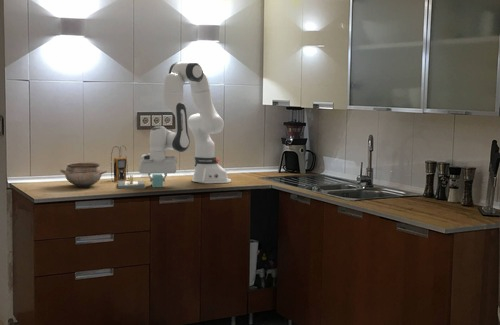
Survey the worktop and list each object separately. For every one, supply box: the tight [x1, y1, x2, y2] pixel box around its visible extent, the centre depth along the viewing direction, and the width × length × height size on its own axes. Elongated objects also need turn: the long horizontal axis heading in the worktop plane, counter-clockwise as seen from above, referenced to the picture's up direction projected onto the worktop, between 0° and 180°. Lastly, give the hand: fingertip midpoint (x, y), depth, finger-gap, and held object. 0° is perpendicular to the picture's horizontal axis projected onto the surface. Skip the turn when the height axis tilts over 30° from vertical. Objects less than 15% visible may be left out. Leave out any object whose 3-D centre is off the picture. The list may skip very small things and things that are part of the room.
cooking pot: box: [59, 161, 108, 189], centre depth 361 cm, size 25×19×12 cm
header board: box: [117, 174, 146, 190], centre depth 368 cm, size 14×18×6 cm
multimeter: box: [110, 145, 130, 183], centre depth 384 cm, size 15×10×20 cm
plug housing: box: [151, 173, 164, 188], centre depth 370 cm, size 5×11×6 cm, turn 11°
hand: (157, 181), depth 370 cm, fingers closed on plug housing, 5 cm apart
